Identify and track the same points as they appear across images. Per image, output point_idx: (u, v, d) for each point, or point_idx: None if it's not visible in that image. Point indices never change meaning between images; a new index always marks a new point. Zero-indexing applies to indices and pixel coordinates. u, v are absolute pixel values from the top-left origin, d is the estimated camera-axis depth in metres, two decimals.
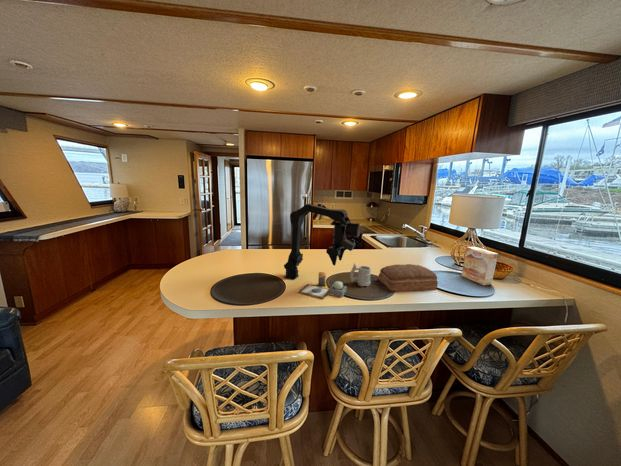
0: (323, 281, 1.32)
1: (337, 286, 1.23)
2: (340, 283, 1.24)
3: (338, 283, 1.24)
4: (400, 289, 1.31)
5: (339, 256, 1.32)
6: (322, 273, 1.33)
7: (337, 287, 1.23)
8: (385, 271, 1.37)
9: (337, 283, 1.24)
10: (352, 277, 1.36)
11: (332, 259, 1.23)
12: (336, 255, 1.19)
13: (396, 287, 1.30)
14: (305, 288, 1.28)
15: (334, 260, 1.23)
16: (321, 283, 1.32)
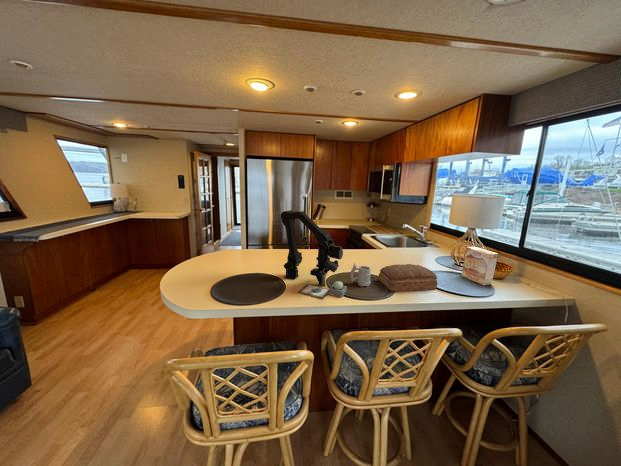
0: (323, 281, 1.32)
1: (337, 286, 1.23)
2: (340, 283, 1.24)
3: (338, 283, 1.24)
4: (400, 289, 1.30)
5: None
6: None
7: (337, 287, 1.23)
8: (385, 271, 1.37)
9: (337, 283, 1.24)
10: (352, 277, 1.36)
11: (318, 278, 1.31)
12: None
13: (396, 287, 1.30)
14: (305, 288, 1.28)
15: (320, 279, 1.30)
16: (321, 283, 1.32)
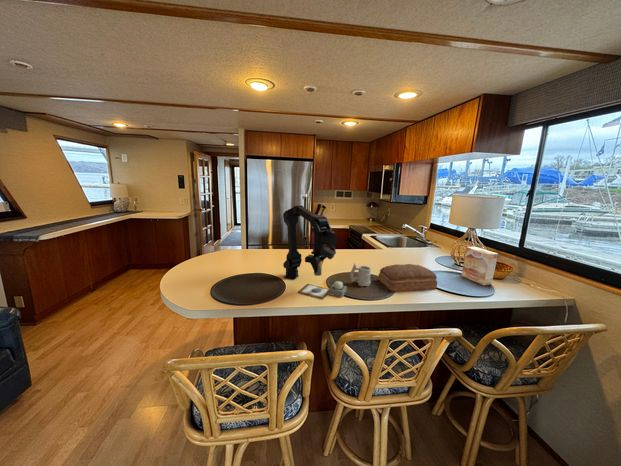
0: (319, 269, 1.21)
1: (337, 286, 1.23)
2: (340, 283, 1.24)
3: (338, 283, 1.24)
4: (400, 289, 1.30)
5: None
6: None
7: (337, 287, 1.23)
8: (385, 271, 1.37)
9: (337, 283, 1.24)
10: (352, 277, 1.36)
11: (313, 266, 1.20)
12: (317, 262, 1.16)
13: (397, 287, 1.30)
14: (305, 288, 1.28)
15: (315, 267, 1.20)
16: (317, 272, 1.22)
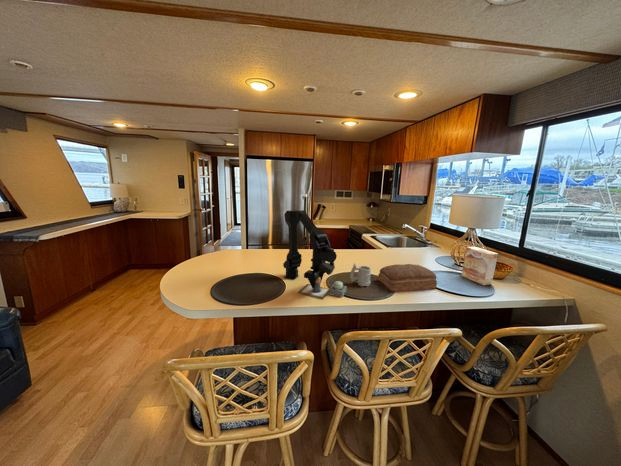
0: (318, 286, 1.23)
1: (337, 286, 1.23)
2: (340, 283, 1.24)
3: (338, 283, 1.24)
4: (400, 289, 1.30)
5: None
6: None
7: (337, 287, 1.23)
8: (385, 271, 1.36)
9: (337, 283, 1.24)
10: (352, 277, 1.36)
11: (311, 282, 1.20)
12: None
13: (397, 287, 1.29)
14: (305, 288, 1.28)
15: (313, 283, 1.20)
16: (315, 289, 1.23)
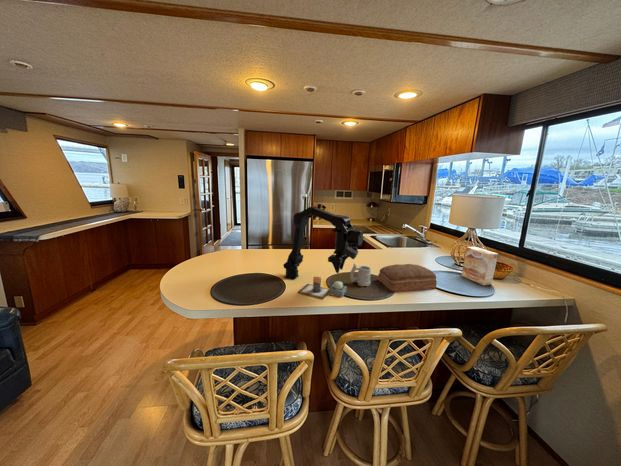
0: (318, 286, 1.23)
1: (337, 286, 1.23)
2: (340, 283, 1.24)
3: (338, 283, 1.24)
4: (400, 289, 1.30)
5: (340, 265, 1.25)
6: (317, 278, 1.24)
7: (337, 287, 1.23)
8: (385, 271, 1.36)
9: (337, 283, 1.24)
10: (352, 277, 1.36)
11: (335, 267, 1.19)
12: (339, 263, 1.15)
13: (397, 287, 1.29)
14: (305, 288, 1.28)
15: (337, 268, 1.19)
16: (315, 289, 1.23)
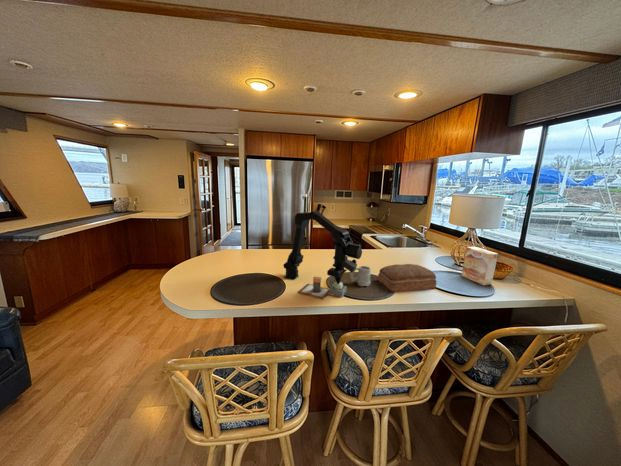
0: (318, 286, 1.23)
1: (337, 286, 1.23)
2: (340, 283, 1.24)
3: None
4: (400, 289, 1.30)
5: None
6: (317, 278, 1.24)
7: (337, 287, 1.23)
8: (385, 271, 1.36)
9: None
10: (352, 277, 1.36)
11: (336, 278, 1.23)
12: (340, 274, 1.19)
13: (397, 287, 1.29)
14: (305, 288, 1.28)
15: (338, 279, 1.23)
16: (315, 289, 1.23)
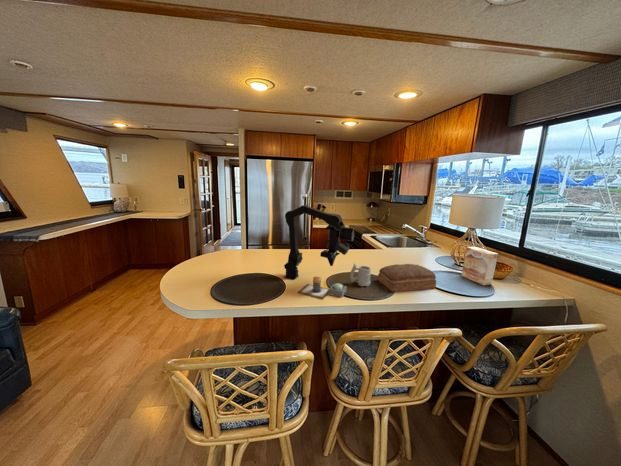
0: (318, 286, 1.23)
1: (337, 288, 1.23)
2: (340, 285, 1.24)
3: (338, 285, 1.24)
4: (400, 289, 1.30)
5: None
6: (317, 278, 1.24)
7: (337, 289, 1.23)
8: (385, 271, 1.36)
9: (337, 285, 1.24)
10: (352, 277, 1.36)
11: (329, 260, 1.30)
12: (333, 256, 1.26)
13: (397, 287, 1.29)
14: (305, 288, 1.28)
15: (331, 261, 1.30)
16: (315, 289, 1.23)
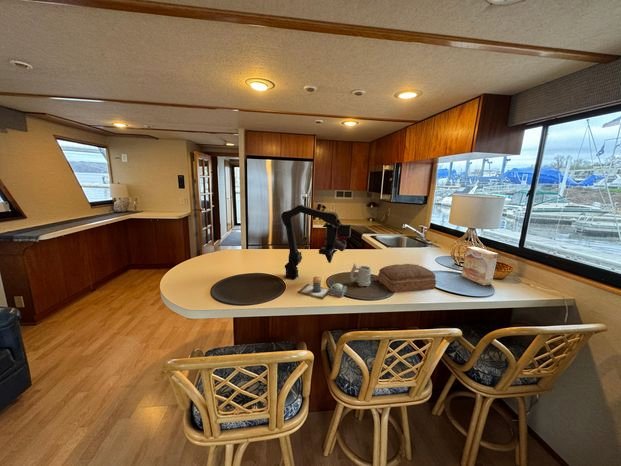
0: (318, 286, 1.23)
1: (337, 288, 1.23)
2: (340, 285, 1.24)
3: (338, 285, 1.24)
4: (401, 289, 1.30)
5: None
6: (317, 278, 1.24)
7: (337, 289, 1.23)
8: (385, 271, 1.36)
9: (337, 285, 1.24)
10: (352, 277, 1.36)
11: (327, 257, 1.33)
12: (331, 253, 1.29)
13: (397, 287, 1.29)
14: (305, 288, 1.28)
15: (329, 258, 1.33)
16: (315, 289, 1.23)
